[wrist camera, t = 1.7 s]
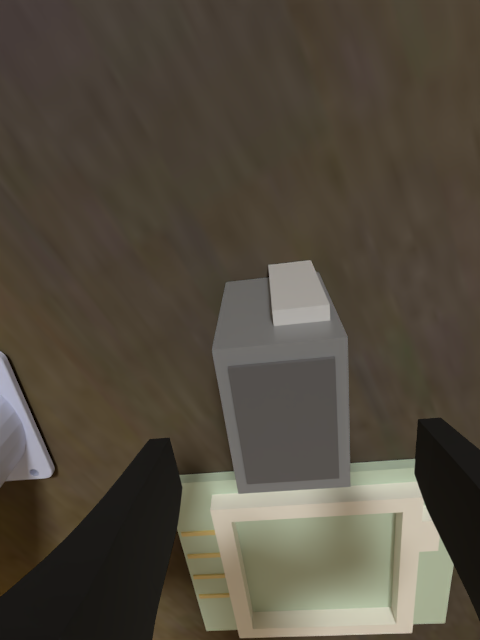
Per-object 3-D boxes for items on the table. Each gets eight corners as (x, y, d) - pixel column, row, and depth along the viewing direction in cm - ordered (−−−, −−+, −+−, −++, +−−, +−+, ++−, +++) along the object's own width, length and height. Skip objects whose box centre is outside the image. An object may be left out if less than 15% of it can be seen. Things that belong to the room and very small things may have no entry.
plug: (243, 395, 20) (238, 497, 14) (224, 270, 17) (208, 335, 11) (324, 388, 19) (351, 490, 14) (317, 259, 17) (348, 322, 11)
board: (207, 621, 28) (204, 647, 27) (166, 475, 22) (160, 499, 21) (441, 613, 27) (451, 640, 25) (462, 455, 21) (478, 479, 19)
